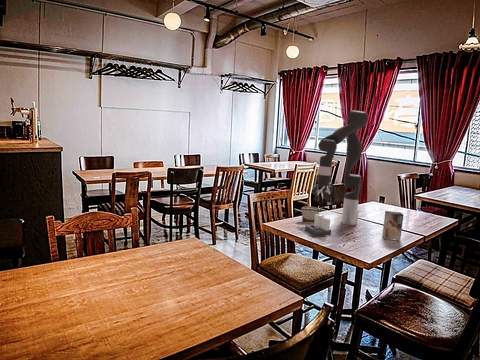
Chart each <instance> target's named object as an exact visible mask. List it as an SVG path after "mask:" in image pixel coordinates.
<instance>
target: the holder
mask: <svg viewBox="0 0 480 360" xmlns="http://www.w3.org/2000/svg"><path fill="white" fill-rule="evenodd" d="M295 229H297V230H299V231H301V232H302V233H304V234H305V235H307V236H309V237H311V238H312V239H317V238H318V239H319V238H328V237H329V238H331V237H342V235H341V234H339V233H337V232H336V231H335V230H334V231H333V230H332V229H331V228H329V230H328V231H327V230H324V229H321V230H316V229H314V224H306V225H304V226H296V227H295Z"/></svg>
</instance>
